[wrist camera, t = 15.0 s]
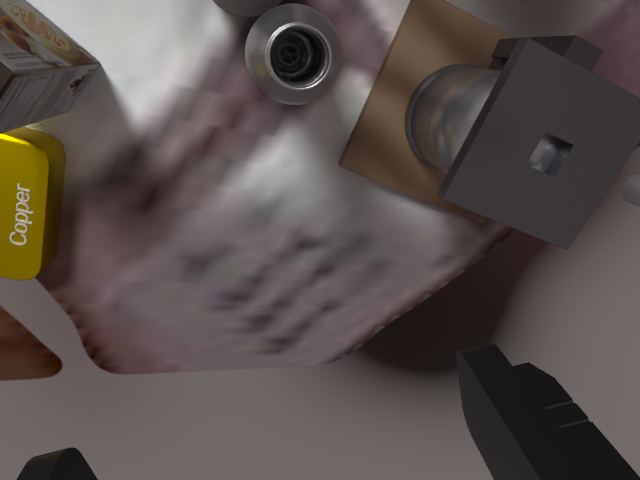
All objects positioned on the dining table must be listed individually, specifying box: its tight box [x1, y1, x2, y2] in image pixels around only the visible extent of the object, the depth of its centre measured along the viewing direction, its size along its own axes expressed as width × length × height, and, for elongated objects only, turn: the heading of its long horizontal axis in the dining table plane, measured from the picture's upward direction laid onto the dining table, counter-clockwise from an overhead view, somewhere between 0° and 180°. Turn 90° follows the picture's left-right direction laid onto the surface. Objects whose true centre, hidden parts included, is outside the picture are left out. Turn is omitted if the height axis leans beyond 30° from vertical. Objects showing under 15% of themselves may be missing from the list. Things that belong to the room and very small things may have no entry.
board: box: [339, 0, 514, 224], centre depth 47 cm, size 18×18×2 cm
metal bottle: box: [245, 4, 343, 105], centre depth 34 cm, size 6×7×20 cm
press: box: [405, 35, 640, 250], centre depth 38 cm, size 13×11×17 cm
